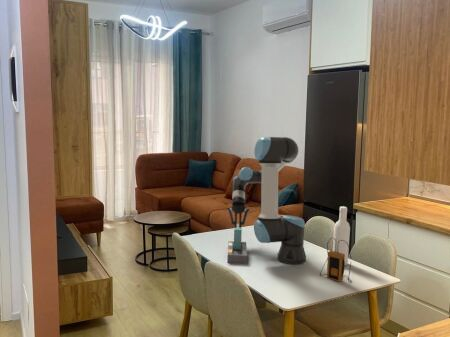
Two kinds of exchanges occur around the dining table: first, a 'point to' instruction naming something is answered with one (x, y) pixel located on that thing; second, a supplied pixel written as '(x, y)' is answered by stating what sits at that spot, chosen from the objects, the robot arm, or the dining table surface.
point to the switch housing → (237, 253)
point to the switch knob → (237, 238)
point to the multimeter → (335, 264)
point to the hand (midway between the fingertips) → (237, 234)
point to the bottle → (342, 234)
